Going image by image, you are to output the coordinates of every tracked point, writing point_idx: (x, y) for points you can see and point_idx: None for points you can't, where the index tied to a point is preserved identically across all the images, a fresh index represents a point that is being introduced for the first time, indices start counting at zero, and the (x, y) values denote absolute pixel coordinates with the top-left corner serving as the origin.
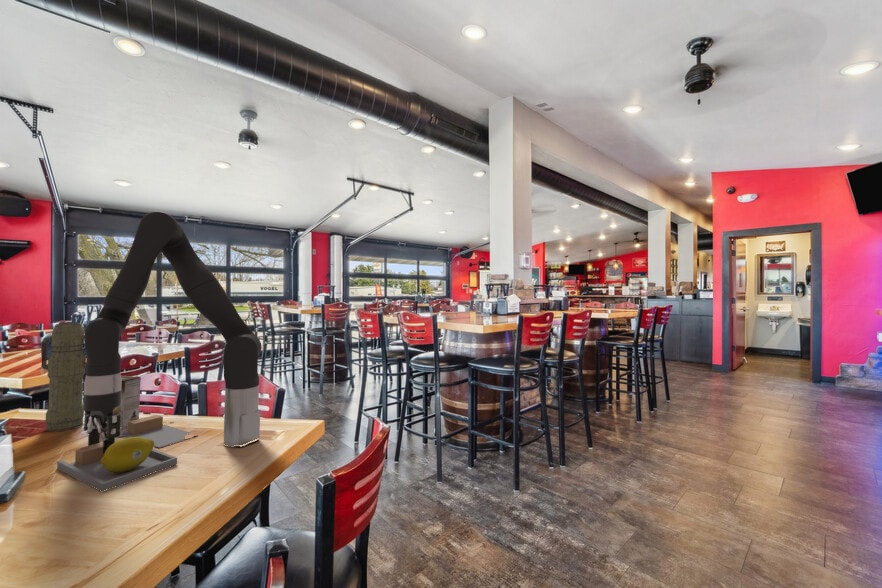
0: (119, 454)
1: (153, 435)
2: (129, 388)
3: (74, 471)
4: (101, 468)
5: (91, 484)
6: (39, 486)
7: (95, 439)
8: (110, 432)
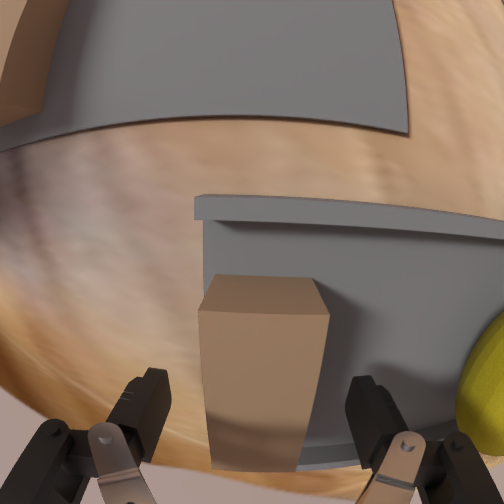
0: None
1: (144, 40)
2: None
3: None
4: (395, 396)
5: None
6: (325, 482)
7: (155, 414)
8: (453, 493)
